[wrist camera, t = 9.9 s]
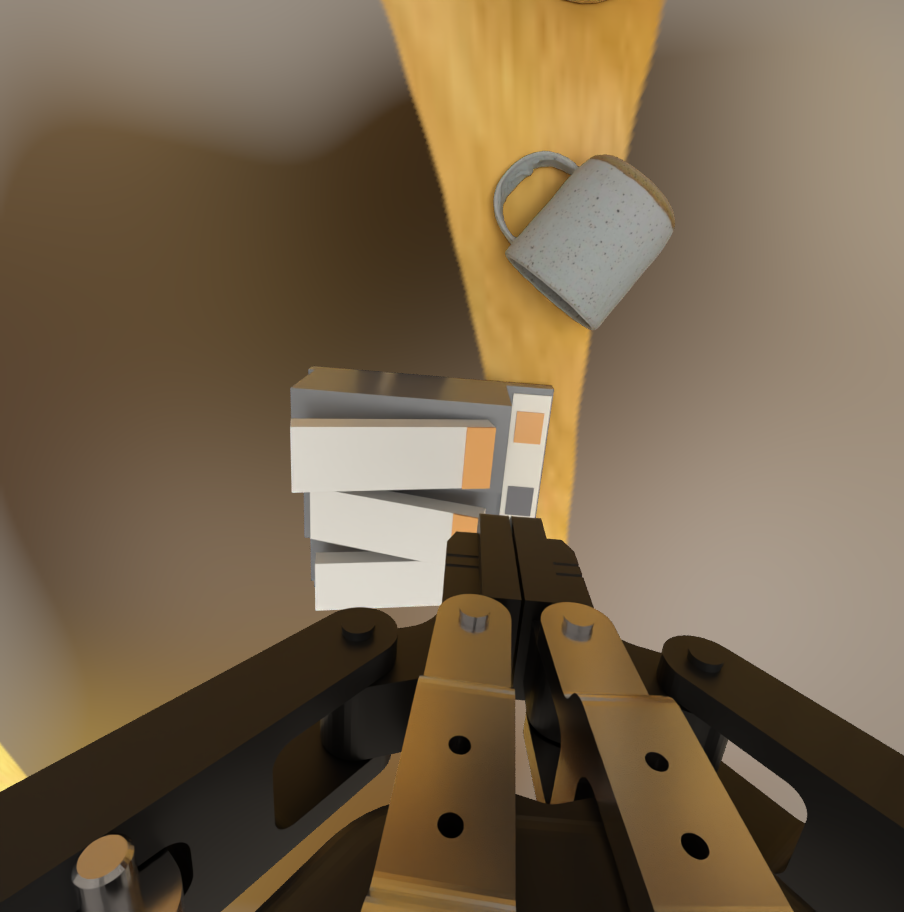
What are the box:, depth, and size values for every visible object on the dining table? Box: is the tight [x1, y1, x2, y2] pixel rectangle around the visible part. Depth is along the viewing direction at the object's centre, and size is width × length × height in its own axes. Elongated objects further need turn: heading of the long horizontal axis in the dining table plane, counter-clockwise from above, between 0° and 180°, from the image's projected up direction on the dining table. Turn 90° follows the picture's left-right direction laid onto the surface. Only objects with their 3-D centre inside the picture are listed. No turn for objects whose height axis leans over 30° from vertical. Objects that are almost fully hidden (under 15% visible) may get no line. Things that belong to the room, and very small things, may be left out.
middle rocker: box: [310, 490, 486, 566], centre depth 38 cm, size 4×12×2 cm, turn 86°
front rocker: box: [290, 419, 496, 493], centre depth 33 cm, size 4×12×2 cm, turn 86°
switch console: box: [291, 366, 554, 587], centre depth 41 cm, size 18×18×8 cm
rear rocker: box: [315, 551, 445, 611], centre depth 42 cm, size 4×12×2 cm, turn 86°
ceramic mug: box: [494, 151, 675, 330], centre depth 34 cm, size 11×8×8 cm
